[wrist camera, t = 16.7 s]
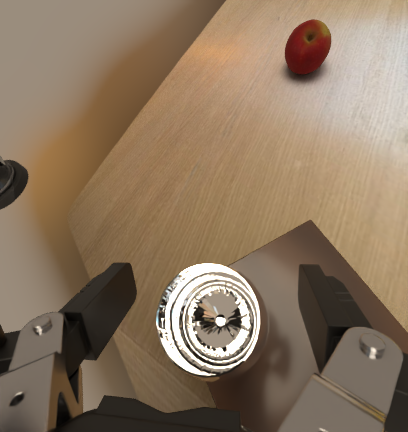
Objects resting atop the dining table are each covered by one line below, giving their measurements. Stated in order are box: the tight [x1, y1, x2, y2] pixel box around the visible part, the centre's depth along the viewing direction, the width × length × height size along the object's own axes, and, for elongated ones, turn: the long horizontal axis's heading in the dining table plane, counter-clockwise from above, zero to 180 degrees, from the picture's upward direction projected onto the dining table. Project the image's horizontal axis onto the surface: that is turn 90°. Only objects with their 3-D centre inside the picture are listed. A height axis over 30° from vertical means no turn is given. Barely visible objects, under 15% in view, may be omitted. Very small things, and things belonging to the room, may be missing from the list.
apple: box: [285, 20, 331, 74], centre depth 42 cm, size 8×8×8 cm
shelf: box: [206, 220, 408, 432], centre depth 24 cm, size 16×14×8 cm
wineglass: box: [156, 263, 269, 382], centre depth 16 cm, size 6×6×12 cm
